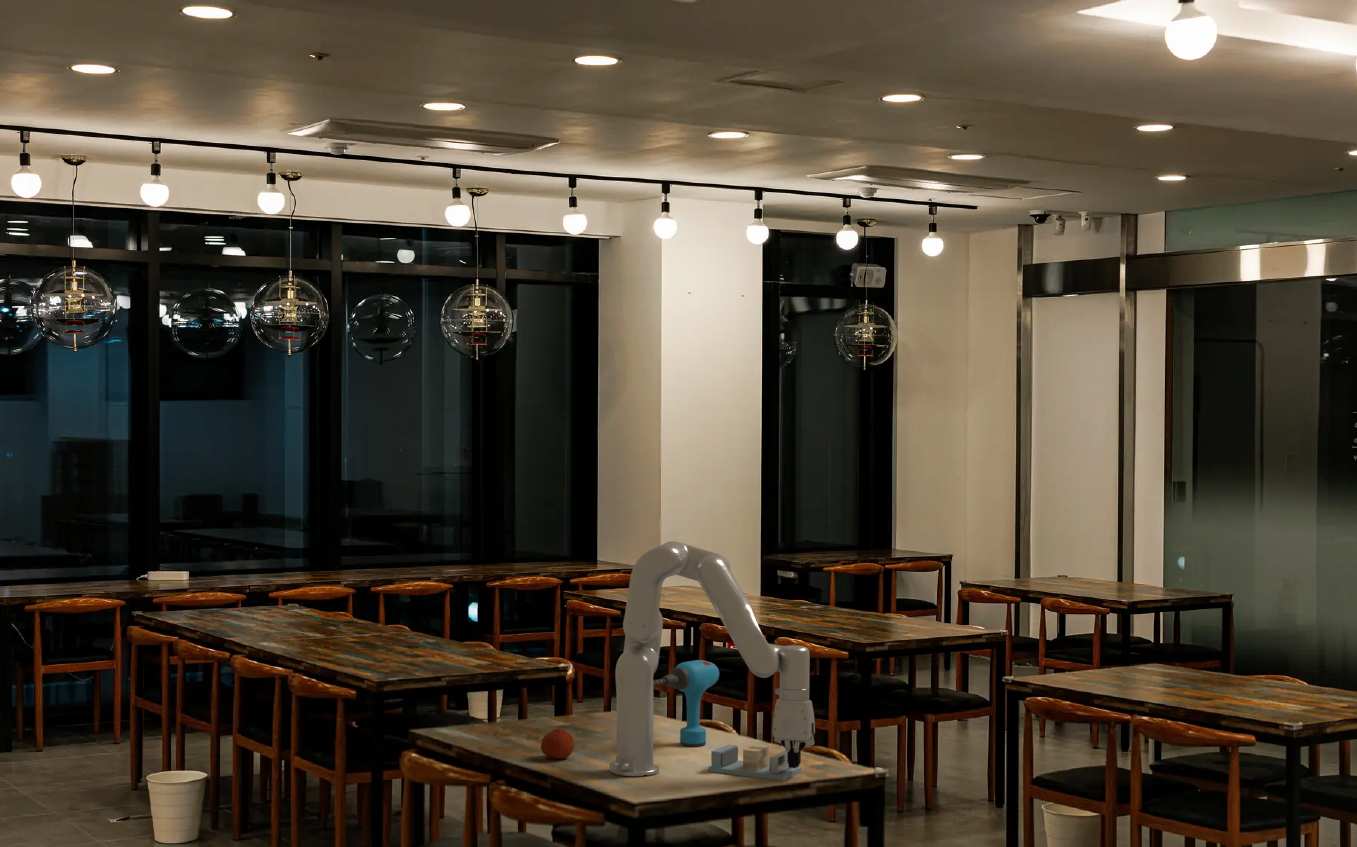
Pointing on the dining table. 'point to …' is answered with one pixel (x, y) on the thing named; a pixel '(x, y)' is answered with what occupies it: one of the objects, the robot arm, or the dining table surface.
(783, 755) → the block
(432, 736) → the dining table surface
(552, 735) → the fruit
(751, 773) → the vise
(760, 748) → the block
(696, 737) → the power drill
